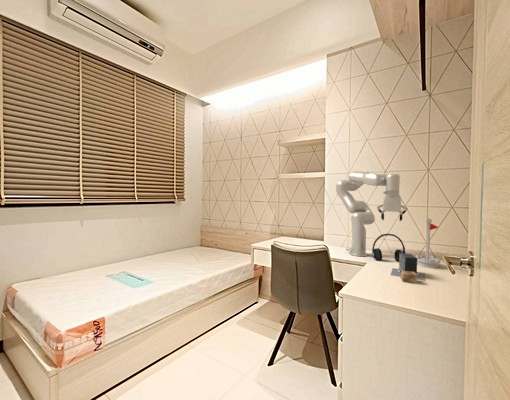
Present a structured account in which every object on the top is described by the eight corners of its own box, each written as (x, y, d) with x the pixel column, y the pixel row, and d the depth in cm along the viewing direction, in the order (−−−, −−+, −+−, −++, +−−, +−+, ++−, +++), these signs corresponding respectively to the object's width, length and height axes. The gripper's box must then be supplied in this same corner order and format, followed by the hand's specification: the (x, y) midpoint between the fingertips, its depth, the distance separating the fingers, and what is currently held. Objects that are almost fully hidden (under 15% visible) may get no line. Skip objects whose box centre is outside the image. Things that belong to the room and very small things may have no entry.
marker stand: (415, 266, 158) (416, 218, 157) (415, 261, 169) (416, 217, 168) (440, 269, 151) (442, 220, 150) (439, 264, 162) (441, 218, 161)
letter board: (390, 276, 138) (390, 275, 138) (392, 269, 151) (392, 267, 151) (425, 282, 129) (425, 281, 129) (424, 273, 143) (424, 272, 143)
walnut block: (402, 283, 127) (403, 273, 127) (400, 279, 133) (401, 270, 133) (416, 285, 125) (416, 275, 125) (414, 281, 131) (414, 271, 130)
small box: (417, 277, 134) (418, 258, 134) (404, 276, 136) (404, 257, 136) (411, 271, 145) (411, 253, 144) (398, 270, 146) (398, 252, 146)
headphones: (374, 261, 168) (374, 234, 168) (371, 258, 175) (371, 232, 175) (406, 263, 165) (407, 235, 165) (401, 260, 172) (402, 233, 171)
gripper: (376, 193, 161) (375, 220, 161) (408, 193, 151) (407, 222, 152) (378, 193, 167) (377, 219, 168) (408, 193, 158) (407, 221, 158)
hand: (391, 220), depth 160 cm, fingers open, 9 cm apart
